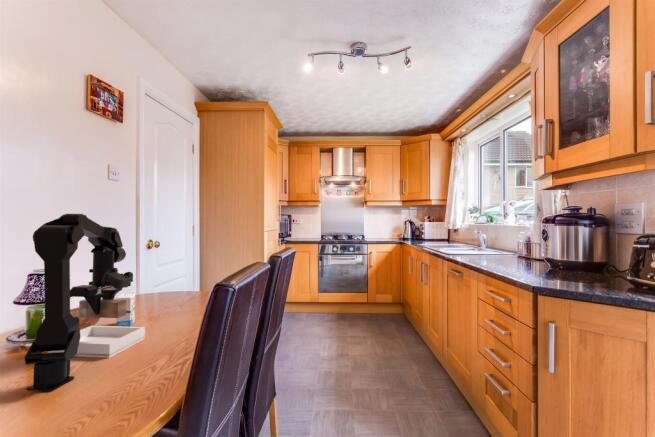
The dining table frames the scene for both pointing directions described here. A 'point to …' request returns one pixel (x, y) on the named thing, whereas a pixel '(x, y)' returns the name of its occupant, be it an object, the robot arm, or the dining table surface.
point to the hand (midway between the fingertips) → (102, 312)
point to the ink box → (127, 310)
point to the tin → (84, 319)
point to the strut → (104, 309)
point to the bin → (107, 340)
